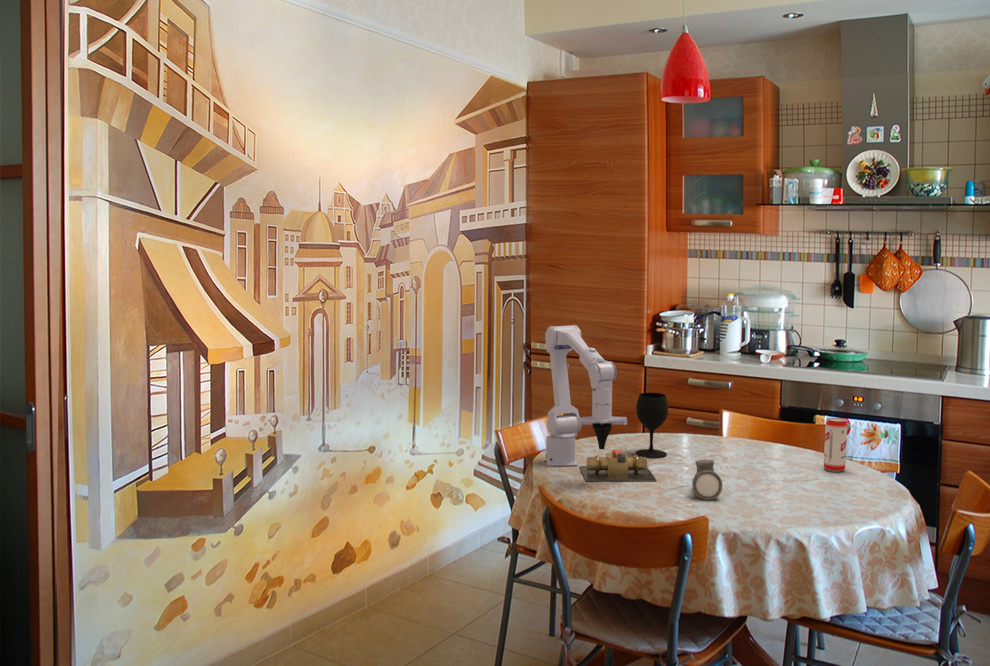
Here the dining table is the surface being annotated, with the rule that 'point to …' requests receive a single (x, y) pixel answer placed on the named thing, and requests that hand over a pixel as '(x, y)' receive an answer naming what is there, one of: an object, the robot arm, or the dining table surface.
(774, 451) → the dining table surface
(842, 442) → the beer can
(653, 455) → the wine glass
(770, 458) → the dining table surface
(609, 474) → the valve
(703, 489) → the pipe fitting
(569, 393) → the robot arm
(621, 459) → the lever
